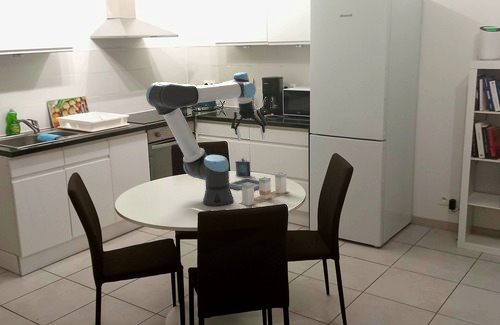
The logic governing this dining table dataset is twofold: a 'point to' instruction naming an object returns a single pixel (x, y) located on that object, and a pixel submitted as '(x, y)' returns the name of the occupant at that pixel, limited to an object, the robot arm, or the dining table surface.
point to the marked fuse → (265, 188)
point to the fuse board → (259, 200)
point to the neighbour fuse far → (280, 182)
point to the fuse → (248, 193)
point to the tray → (238, 184)
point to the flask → (242, 168)
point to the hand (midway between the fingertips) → (251, 139)
